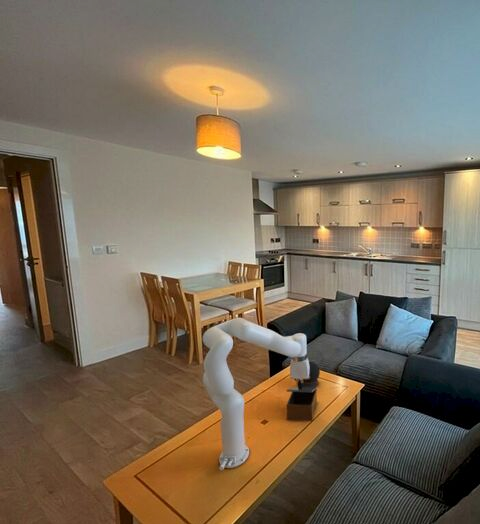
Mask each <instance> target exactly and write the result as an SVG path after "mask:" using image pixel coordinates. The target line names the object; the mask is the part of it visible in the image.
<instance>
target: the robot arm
mask: <svg viewBox="0 0 480 524" xmlns="http://www.w3.org/2000/svg"><path fill="white" fill-rule="evenodd" d="M233 337H235V338H237V339H238V340H241V341H243V342H247V343H249V344H252V345H256V346H258V347H261V348H264V349H266V350H269V351H271V352H275V353H278V354H281V355H283V356H286V357H289V358H291V359H290V364H289V378H290V380H291V379H292V380H294V381H295V382H296V383H297V386H296V387H298V389H299V390H302V388H303V386H304V381H305V380H306V379H310V366H309V362H310V361H309V358H308V352H307V351H308V349H307V348H308V346H307V345H308V344H307V335H306V334H305V333H301V332H298V333H294V334H293V335H286V336H283V335H281V334H279V333H278V332H276V331H274V330H272V329H269V328H267V327H264V326H261V325H259V324H256V323H254V322H252V321H249V320H247V319H246V318H243V317H235V318H232V319H229V320H227V321H223V322H221V323H219V324H217V325H214V326H211V327H210V328H208V329H207V330H205V332H203V335H202V343H203V345H204V346H206V347H207V348H208V349H209V350H208V352H207V353H206V354H205V355H206V356H205V358H204V360H203V364H202V365H203V370H204V374H203V375H202V383H203V386H204V388H205V390H206V392H207V394H208V396H209V399H210V400H211V402H212V403H213V404H214V405H215V407H217V409H218V410H219V412H220V413H221V418H220V436H221V448H222V449H221V453H220V455H219V458H218V463H219V467H218V470H219V471H223V470H224V469H233V468H237V467H239V466H240V465H242V464H243V463H245V462H246V461H247V459H248V458H249V455H250V449H249V447H248V446H247V445H246V436H245V421H244V412H245V406H246V405H245V403H246V402H245V399H244V396H243V395H242V394H241V393H240V391H238V390H236V389H235V388H234V387H235V379H234V377H233V375H232V373H231V370H230V368H229V366H228V363H227V359H228V356H229V354H230V353H231V351H232V349H233V347H234V340H233Z"/></svg>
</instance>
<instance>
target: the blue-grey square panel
mask: <svg viewBox="0 0 480 524" xmlns="http://www.w3.org/2000/svg"><path fill="white" fill-rule="evenodd" d="M316 389H317V390H318V386H317V387H303V388H302V390H299V389H298V386H292V387H290V388H287V389H286V392H290V393H292V392H313V391H314V390H316Z"/></svg>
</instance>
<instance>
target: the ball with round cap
mask: <svg viewBox="0 0 480 524" xmlns="http://www.w3.org/2000/svg"><path fill="white" fill-rule="evenodd" d="M309 366H310V379H306V380H305V381H304V386H303V387H317V388H318V386H319V381H318V379H319V377H320V375H321V374H320V373H321V371H320V367H319V365H318V364H317V363H316V362H313V361H309Z"/></svg>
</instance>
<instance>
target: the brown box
mask: <svg viewBox="0 0 480 524" xmlns="http://www.w3.org/2000/svg"><path fill="white" fill-rule="evenodd" d="M290 393H291V394H290V396H289V398H288V401H287V403H286V420H287V421H304V422H305V421H308V422H311V421H313V418H314V415H315V411H316V408H317V403H318V388H317V389H316V390H314V391H313V392H290Z"/></svg>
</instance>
